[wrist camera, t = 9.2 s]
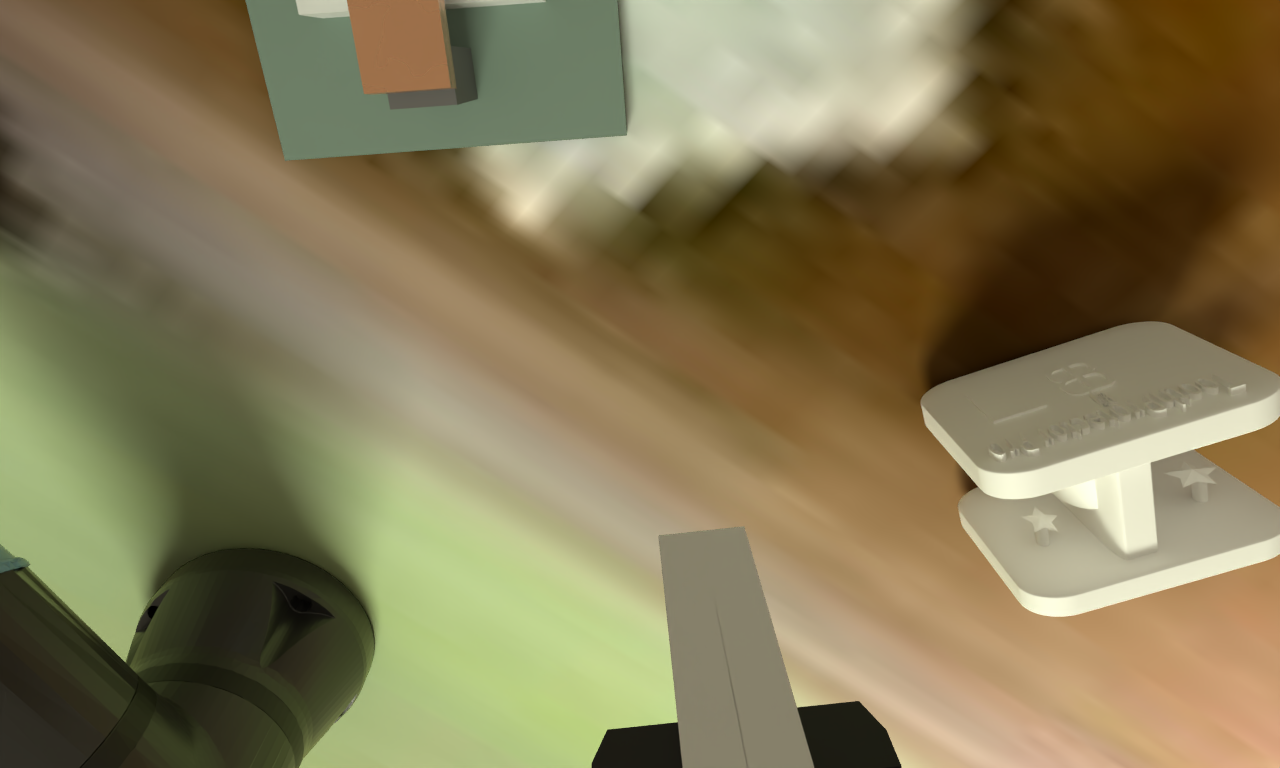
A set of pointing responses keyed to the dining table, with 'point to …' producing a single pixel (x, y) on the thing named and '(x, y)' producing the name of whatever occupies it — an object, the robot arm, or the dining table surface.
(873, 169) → the dining table surface
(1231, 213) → the dining table surface
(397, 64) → the orange-tipped flat strip
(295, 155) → the heatsink board
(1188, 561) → the cable organizer
